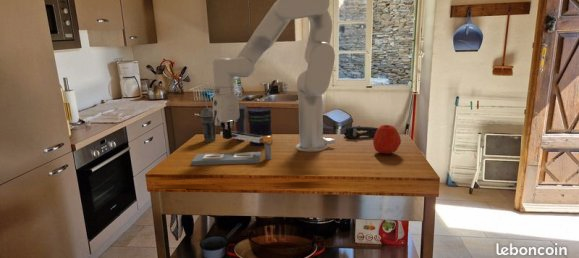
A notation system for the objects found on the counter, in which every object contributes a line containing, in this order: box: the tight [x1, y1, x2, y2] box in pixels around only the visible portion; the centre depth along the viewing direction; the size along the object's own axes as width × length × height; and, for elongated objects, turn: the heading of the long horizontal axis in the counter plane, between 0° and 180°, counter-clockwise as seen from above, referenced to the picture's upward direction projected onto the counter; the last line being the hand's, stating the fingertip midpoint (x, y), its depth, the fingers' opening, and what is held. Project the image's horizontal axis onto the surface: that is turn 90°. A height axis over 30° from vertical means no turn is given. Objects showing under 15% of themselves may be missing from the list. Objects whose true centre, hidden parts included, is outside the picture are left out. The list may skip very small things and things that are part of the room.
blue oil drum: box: [247, 107, 273, 148], centre depth 166 cm, size 10×10×15 cm
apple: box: [372, 124, 402, 154], centre depth 149 cm, size 10×10×10 cm
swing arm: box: [219, 130, 273, 144], centre depth 150 cm, size 26×4×2 cm, turn 50°
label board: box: [191, 143, 272, 166], centre depth 144 cm, size 28×10×6 cm, turn 91°
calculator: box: [235, 104, 248, 142], centre depth 176 cm, size 11×4×15 cm, turn 0°
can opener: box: [343, 125, 379, 140], centre depth 174 cm, size 18×7×6 cm, turn 95°
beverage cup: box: [199, 97, 217, 143], centre depth 172 cm, size 7×7×20 cm
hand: (227, 138), depth 152 cm, fingers closed
